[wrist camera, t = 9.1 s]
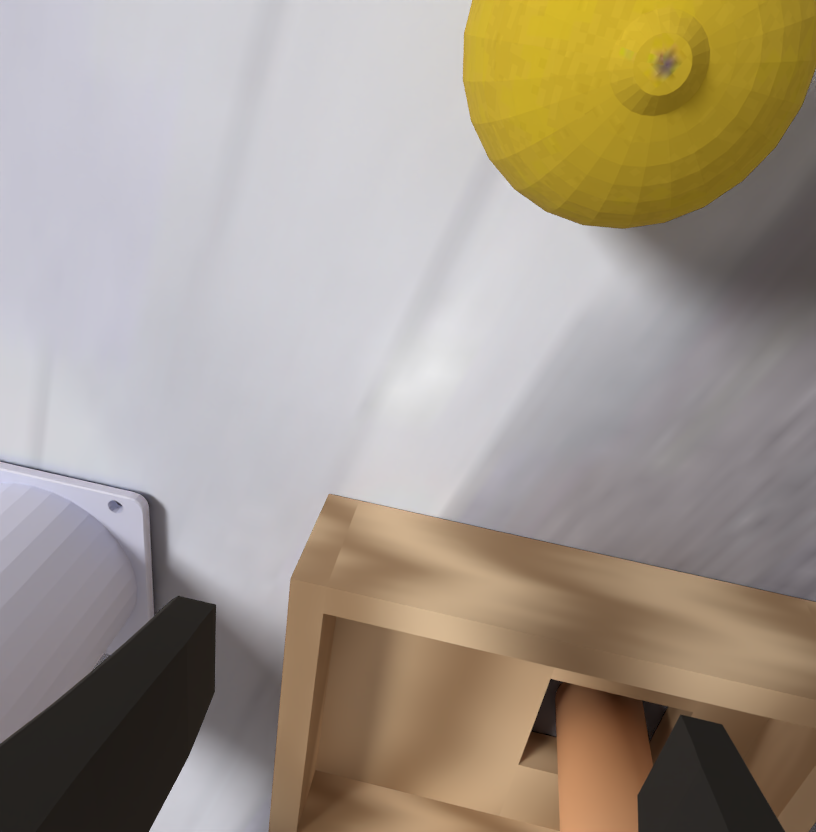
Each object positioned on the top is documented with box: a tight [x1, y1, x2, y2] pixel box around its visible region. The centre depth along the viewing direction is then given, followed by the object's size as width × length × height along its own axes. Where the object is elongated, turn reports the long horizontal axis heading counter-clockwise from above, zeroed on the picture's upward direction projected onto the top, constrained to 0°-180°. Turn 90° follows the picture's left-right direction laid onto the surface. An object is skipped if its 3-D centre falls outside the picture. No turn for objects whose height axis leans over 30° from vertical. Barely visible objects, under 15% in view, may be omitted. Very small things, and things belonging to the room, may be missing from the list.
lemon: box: [463, 0, 816, 229], centre depth 12 cm, size 6×6×8 cm
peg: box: [555, 682, 653, 832], centre depth 21 cm, size 3×3×8 cm
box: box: [269, 494, 816, 832], centre depth 23 cm, size 16×13×4 cm
